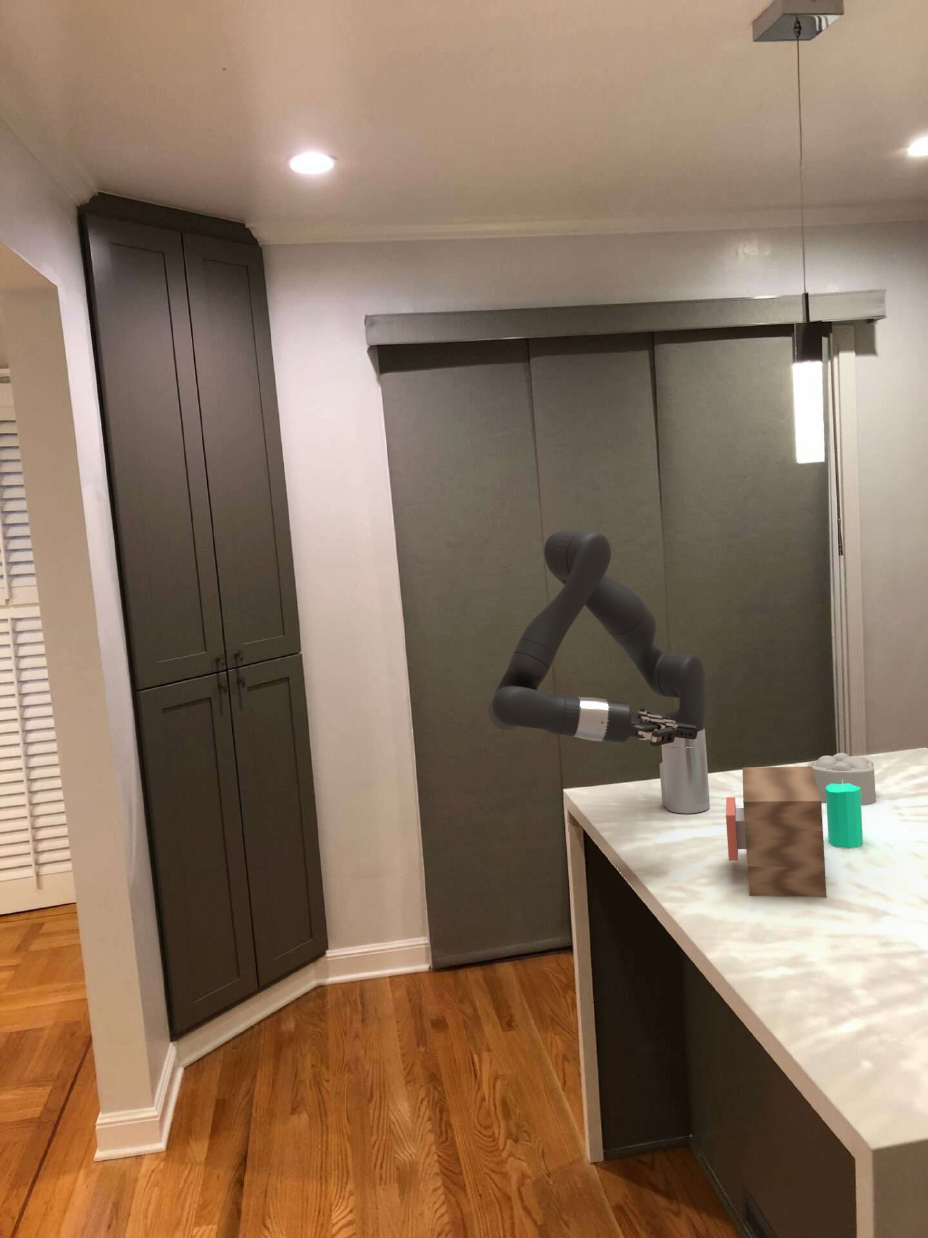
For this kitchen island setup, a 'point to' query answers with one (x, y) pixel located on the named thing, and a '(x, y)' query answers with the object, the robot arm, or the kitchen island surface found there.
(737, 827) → the coral square plate
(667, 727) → the robot arm
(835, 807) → the candle
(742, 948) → the kitchen island surface
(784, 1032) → the kitchen island surface
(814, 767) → the lumpy-topped squat cylinder
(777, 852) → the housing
